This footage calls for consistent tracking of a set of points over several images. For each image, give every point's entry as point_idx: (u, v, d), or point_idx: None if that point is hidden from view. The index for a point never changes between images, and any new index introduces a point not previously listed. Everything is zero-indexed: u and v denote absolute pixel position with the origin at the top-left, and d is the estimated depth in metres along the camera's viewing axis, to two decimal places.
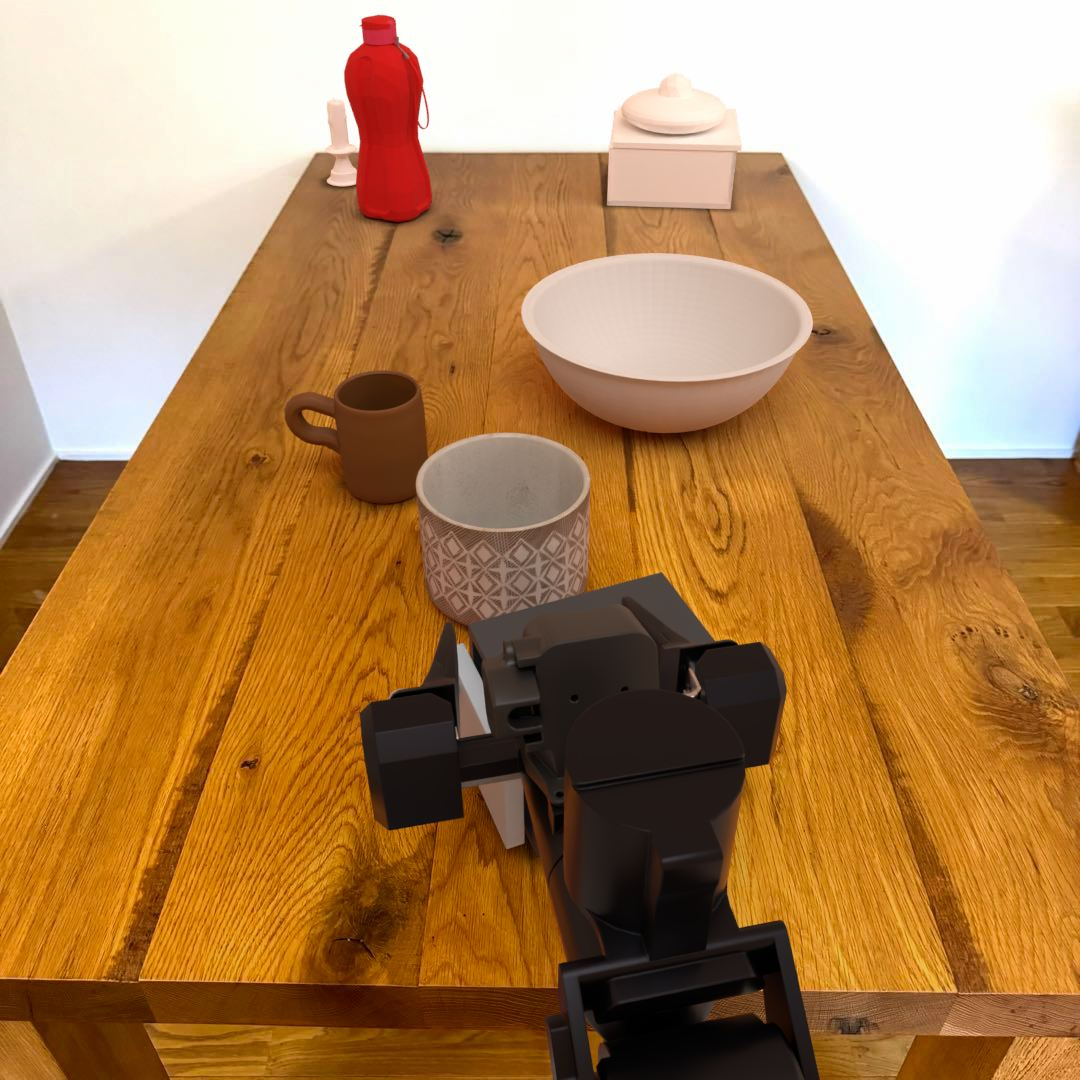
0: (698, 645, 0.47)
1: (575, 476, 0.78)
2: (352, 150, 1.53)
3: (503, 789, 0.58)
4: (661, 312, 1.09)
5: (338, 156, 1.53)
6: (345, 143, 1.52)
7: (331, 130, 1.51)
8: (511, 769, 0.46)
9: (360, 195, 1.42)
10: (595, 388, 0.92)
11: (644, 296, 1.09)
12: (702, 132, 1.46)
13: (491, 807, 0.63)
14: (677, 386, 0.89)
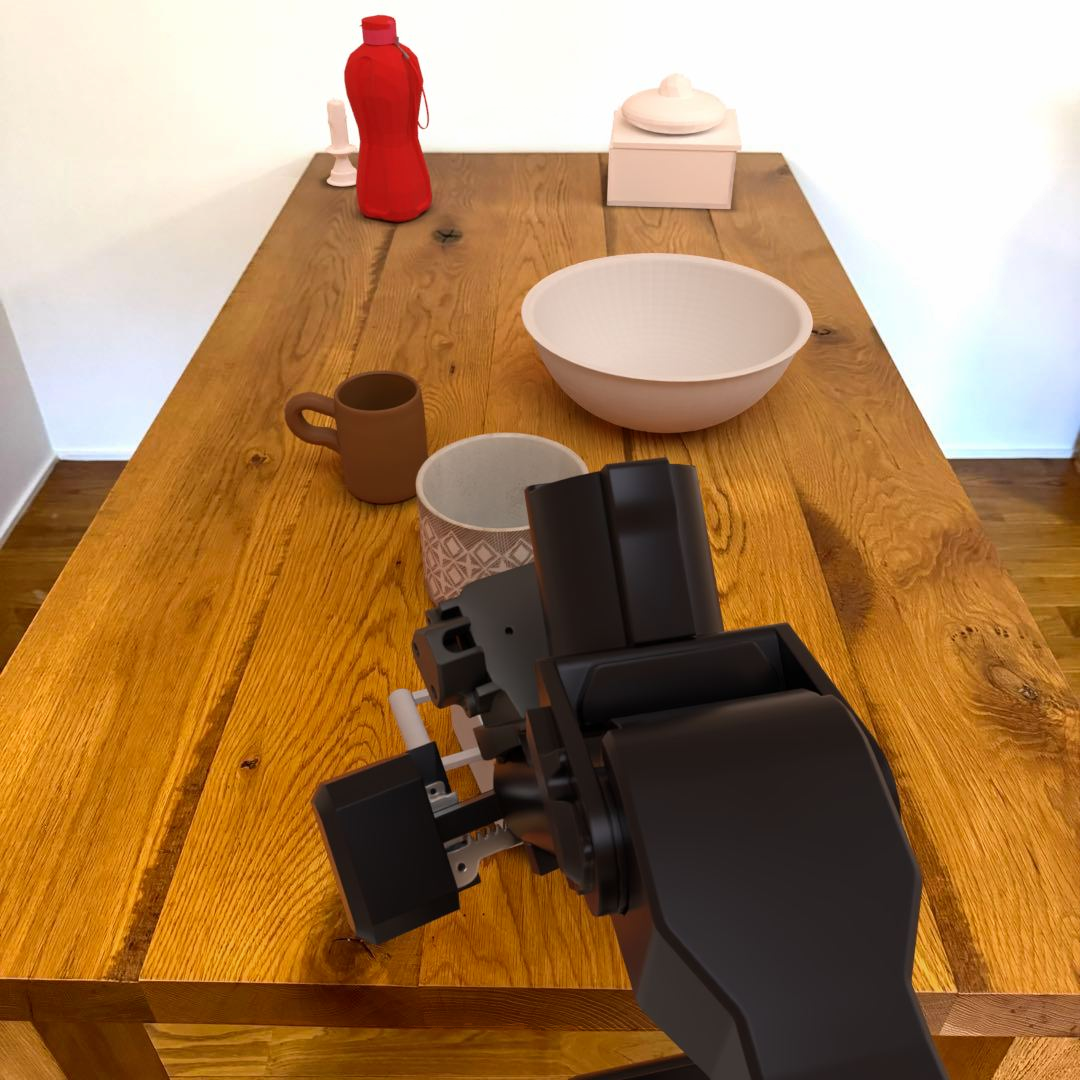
0: None
1: None
2: (352, 150, 1.53)
3: None
4: (661, 312, 1.09)
5: (338, 156, 1.53)
6: (345, 143, 1.52)
7: (331, 130, 1.51)
8: (493, 814, 0.40)
9: (360, 195, 1.42)
10: (595, 388, 0.92)
11: (644, 296, 1.09)
12: (702, 132, 1.46)
13: None
14: (677, 386, 0.89)
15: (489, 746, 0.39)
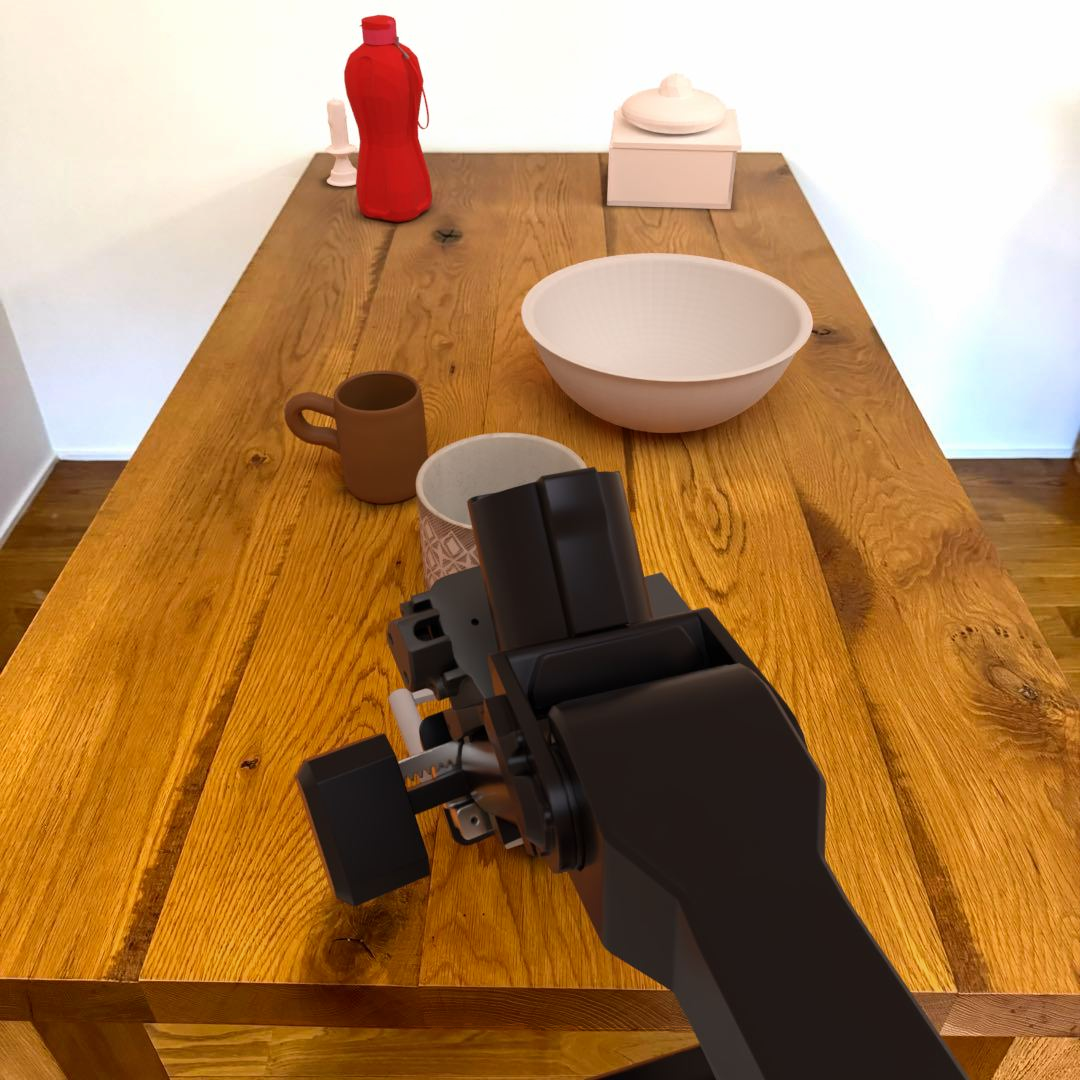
0: None
1: None
2: (352, 150, 1.53)
3: None
4: (661, 312, 1.09)
5: (338, 156, 1.53)
6: (345, 143, 1.52)
7: (331, 130, 1.51)
8: (461, 789, 0.44)
9: (360, 195, 1.42)
10: (595, 388, 0.92)
11: (644, 296, 1.09)
12: (702, 132, 1.46)
13: None
14: (677, 386, 0.89)
15: (457, 726, 0.43)
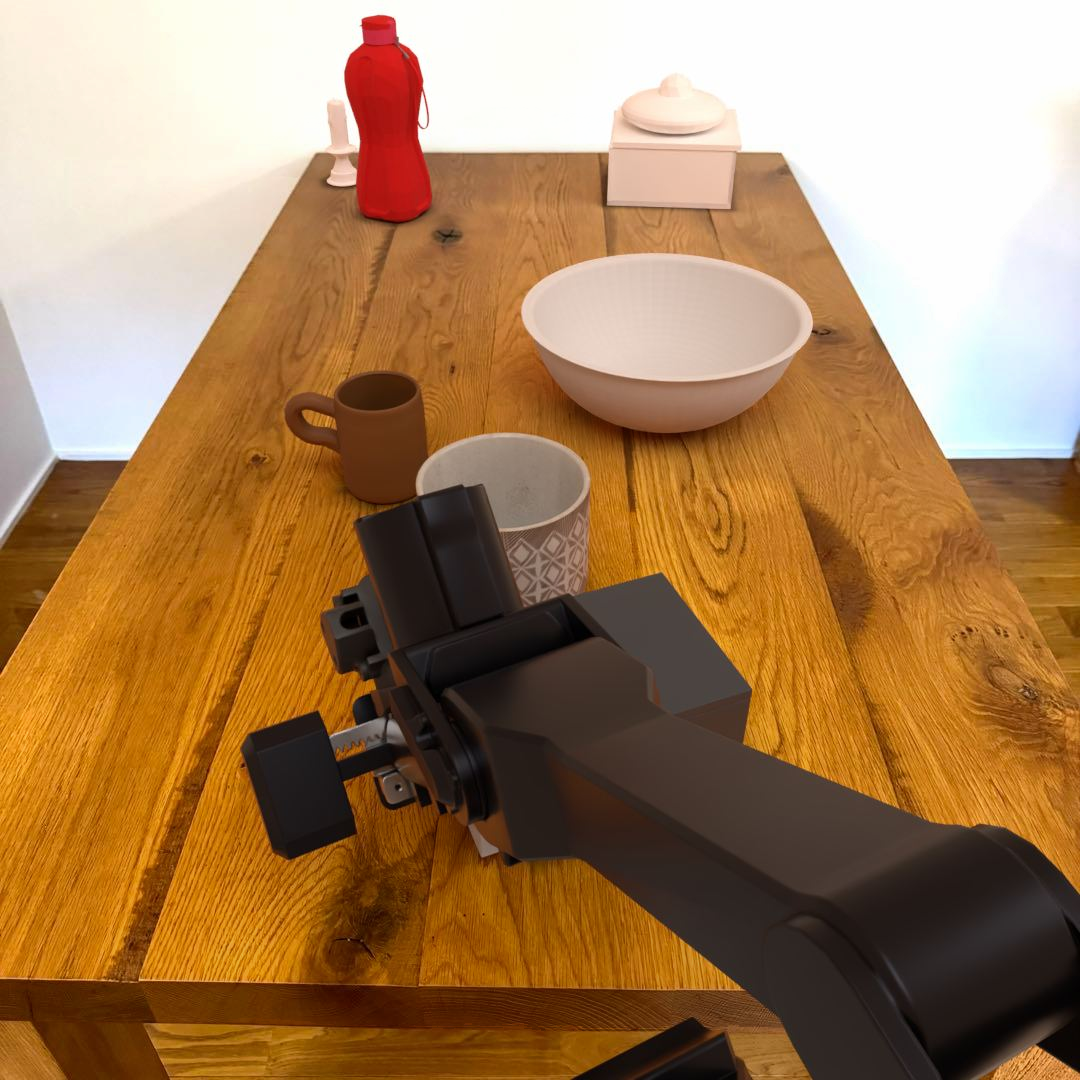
0: None
1: (575, 476, 0.78)
2: (352, 150, 1.53)
3: None
4: (661, 312, 1.09)
5: (338, 156, 1.53)
6: (345, 143, 1.52)
7: (331, 130, 1.51)
8: (385, 759, 0.50)
9: (360, 195, 1.42)
10: (595, 388, 0.92)
11: (644, 296, 1.09)
12: (702, 132, 1.46)
13: None
14: (677, 386, 0.89)
15: (379, 704, 0.49)
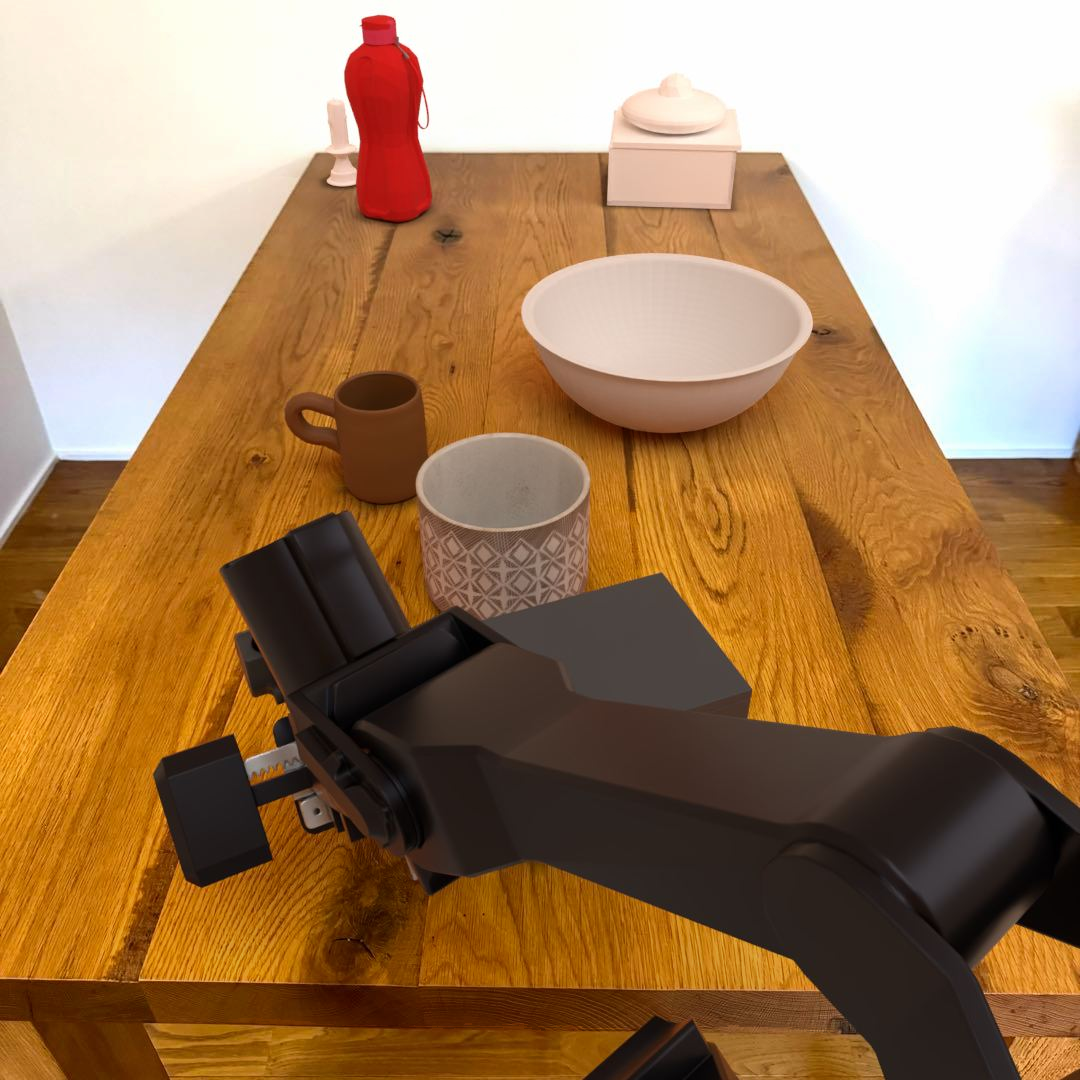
0: None
1: (575, 476, 0.78)
2: (352, 150, 1.53)
3: None
4: (661, 312, 1.09)
5: (338, 156, 1.53)
6: (345, 143, 1.52)
7: (331, 130, 1.51)
8: (302, 783, 0.49)
9: (360, 195, 1.42)
10: (595, 388, 0.92)
11: (644, 296, 1.09)
12: (702, 132, 1.46)
13: None
14: (677, 386, 0.89)
15: (295, 728, 0.48)
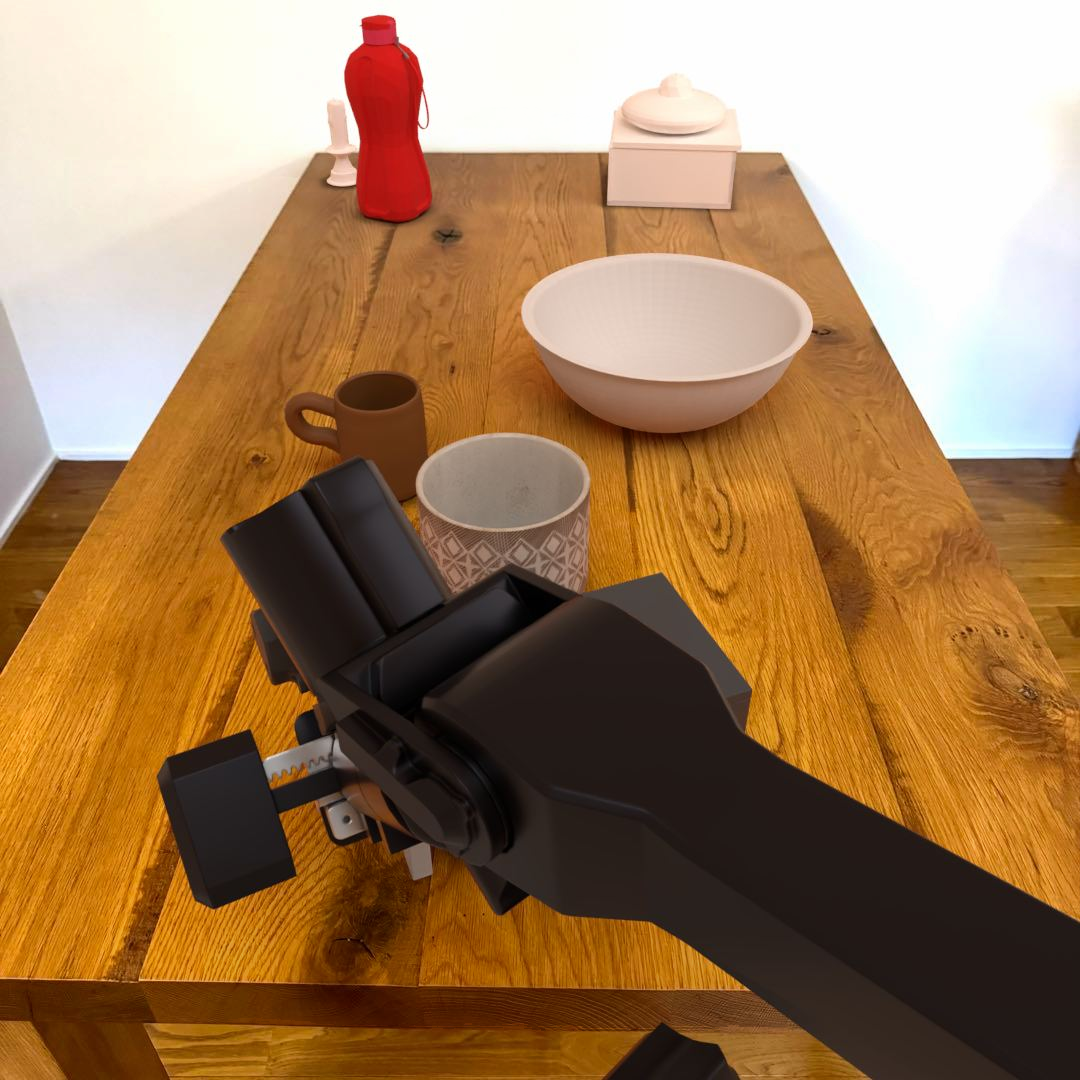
0: None
1: (575, 476, 0.78)
2: (352, 150, 1.53)
3: None
4: (661, 312, 1.09)
5: (338, 156, 1.53)
6: (345, 143, 1.52)
7: (331, 130, 1.51)
8: (331, 786, 0.42)
9: (360, 195, 1.42)
10: (595, 388, 0.92)
11: (644, 296, 1.09)
12: (702, 132, 1.46)
13: None
14: (677, 386, 0.89)
15: (321, 720, 0.41)
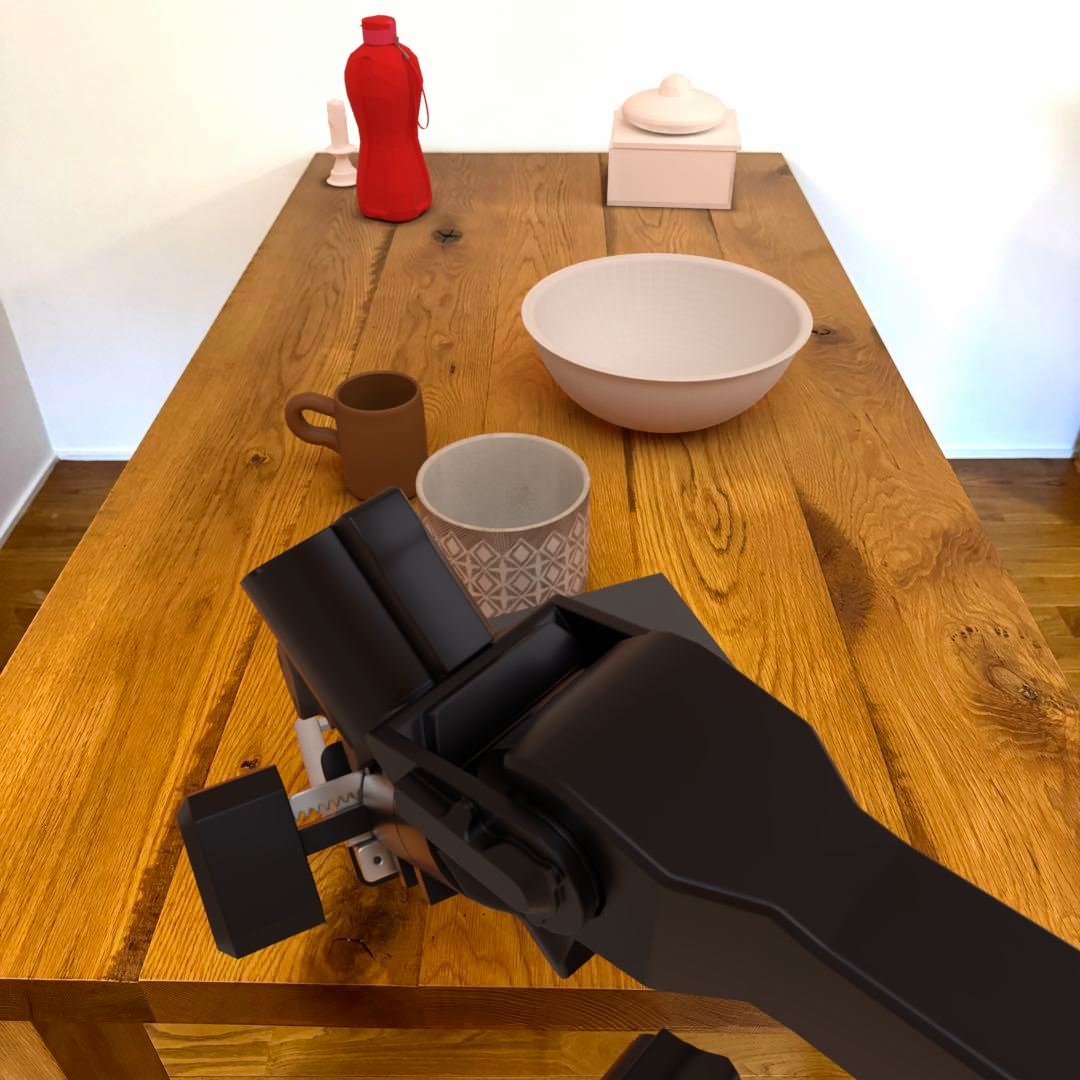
0: None
1: (575, 476, 0.78)
2: (352, 150, 1.53)
3: None
4: (661, 312, 1.09)
5: (338, 156, 1.53)
6: (345, 143, 1.52)
7: (331, 130, 1.51)
8: (361, 826, 0.40)
9: (360, 195, 1.42)
10: (595, 388, 0.92)
11: (644, 296, 1.09)
12: (702, 132, 1.46)
13: None
14: (677, 386, 0.89)
15: (353, 757, 0.38)
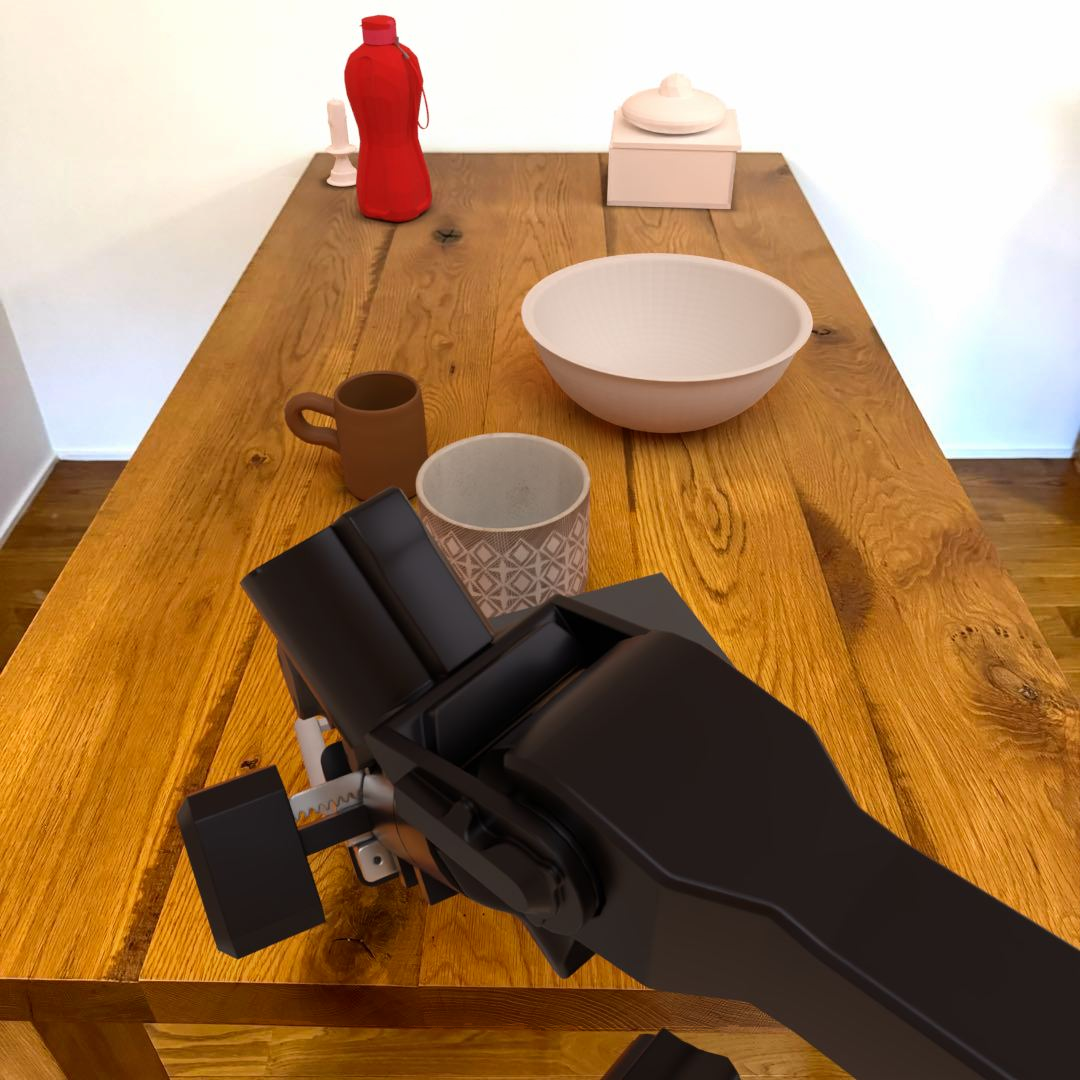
0: None
1: (575, 476, 0.78)
2: (352, 150, 1.53)
3: None
4: (661, 312, 1.09)
5: (338, 156, 1.53)
6: (345, 143, 1.52)
7: (331, 130, 1.51)
8: (361, 826, 0.40)
9: (360, 195, 1.42)
10: (595, 388, 0.92)
11: (644, 296, 1.09)
12: (702, 132, 1.46)
13: None
14: (677, 386, 0.89)
15: (353, 757, 0.38)
